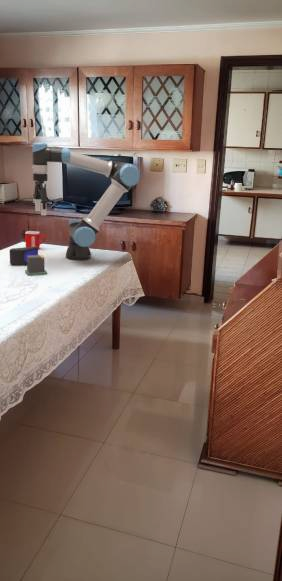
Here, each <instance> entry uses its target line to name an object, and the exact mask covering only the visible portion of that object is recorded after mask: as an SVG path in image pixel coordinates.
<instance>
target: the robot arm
mask: <svg viewBox="0 0 282 581" xmlns="http://www.w3.org/2000/svg"><path fill="white" fill-rule="evenodd" d="M31 152H32V166H31V169H32V173H33V174H32V179H33V180H32V181H34V192H33V193H34V194H33V197H34V205H35V206H34V207H35V212H40V215H41V216H47V203H48V202H49V201H48V200H49V199H48V194H47V184H46V183H45V182H48V180H49V179H48V174H47V173H48V170H49V169H48V163H61V164H64V165H67V166H68V165H69V166H73V167H76V168H80V169H83V170H86V171H91V172H93V173H98V174H101V175H104V176H105V177H106V178H109V179H110V180H111V184H110V185H109V186H108V187H107V189H106V190H105V191H104V193H103V194H102V196H101V197H100V198H99V199H98V200H97V202H96V203H95V206H94V207H93V208H92V210H91V211H90V213H89V214H88V215H87V216H86V217H83V218H81V219H80V218H79V219H78V218H77V219H74V218H73V219H70V220H69V221H68V246H67V249H66V252H65V258H66V259H68V260H72V261H86V260H89V259H91V258H92V252H91V250H90V246H92V245H93V244H94V243H95V241H96V236H97V235H98V233H99V232H100V226H101V225H102V223H103V221H104V220H105V219H106V218H107V216H108V215H109V214H110V212H111V211H112V209H114V207H115V205H116V204H117V203H118V201H119V200H120V199H121V198H122V196H123V194H124V193H127V192H128V193H129V191H130V189H131V188H132V187H133V186H136V185H137V184H138V183H139V181H140V178H141V174H140V170H139V168H138V167H137V166H136V165H134V164H133V163H127V162H119V161H114V160H109V161H107V160H103V159H100V158H96V157H93V156H90V155H87V154H83V153H79V152H76V151H72V150H70V148H67V147H60V146H59V147H58V146H51V147H50V146H48V143H47V142H33V143H32V151H31Z"/></svg>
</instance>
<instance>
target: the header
mask: <svg viewBox="0 0 282 581" xmlns="http://www.w3.org/2000/svg"><path fill="white" fill-rule="evenodd" d="M24 271H25V274H26V275H27V276H28V277H31V276H40V275H41V276H43V275H48V272H47V270H46V269H45V272H35V273H29V271H27V269H25V270H24Z"/></svg>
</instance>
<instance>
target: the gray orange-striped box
mask: <svg viewBox="0 0 282 581" xmlns="http://www.w3.org/2000/svg"><path fill="white" fill-rule="evenodd" d="M26 270H27V271H29V273H35V272H45V270H46V268H45V256H44V255H43V254H38V255H28V256H27V265H26Z"/></svg>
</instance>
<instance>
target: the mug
mask: <svg viewBox="0 0 282 581" xmlns="http://www.w3.org/2000/svg"><path fill="white" fill-rule="evenodd" d="M24 234H25V235H24V236H25V238H24V239H25V247H37V248H38V249H39V250H40V248H41V247H40V246H41V245H42V244H44V243H45V242H46V236H45V235H44V234H43V235H42V234H40V231H33V230H29V231H28V230H27V231H25V233H24ZM41 237H43V241H41V242H40V238H41Z"/></svg>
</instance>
